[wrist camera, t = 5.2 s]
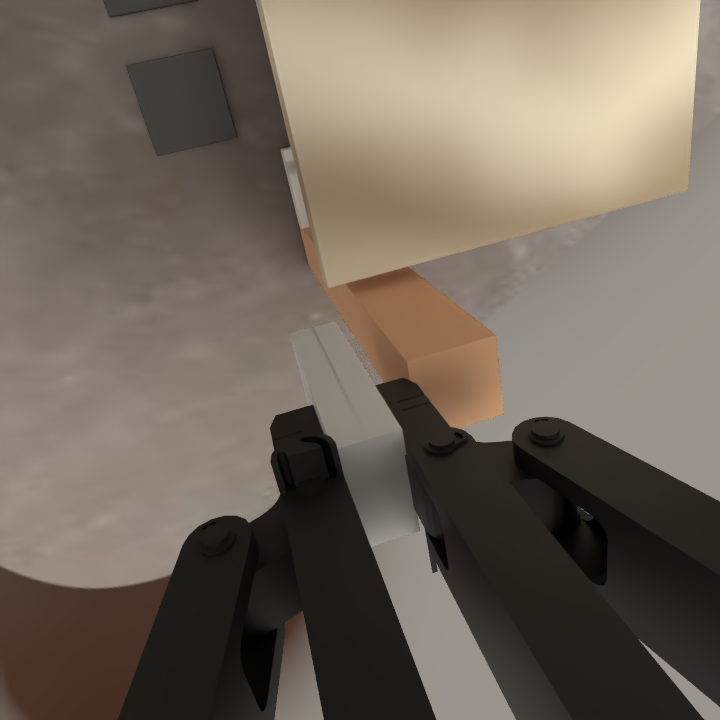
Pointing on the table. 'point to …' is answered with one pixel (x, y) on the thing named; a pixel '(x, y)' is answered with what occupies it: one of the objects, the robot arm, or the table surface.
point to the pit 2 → (182, 101)
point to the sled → (415, 332)
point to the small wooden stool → (476, 118)
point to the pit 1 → (137, 5)
